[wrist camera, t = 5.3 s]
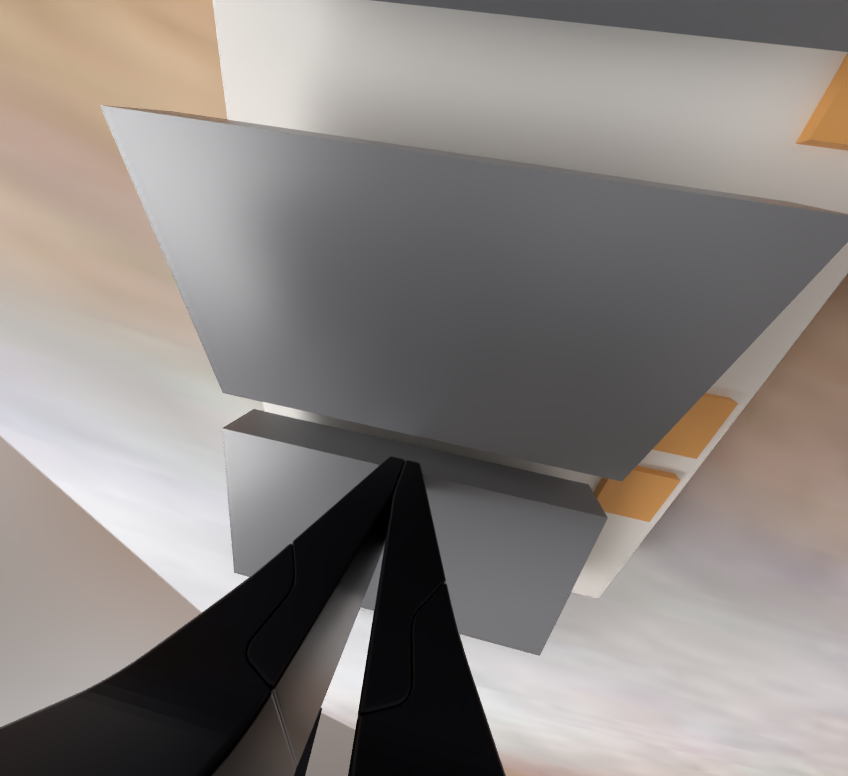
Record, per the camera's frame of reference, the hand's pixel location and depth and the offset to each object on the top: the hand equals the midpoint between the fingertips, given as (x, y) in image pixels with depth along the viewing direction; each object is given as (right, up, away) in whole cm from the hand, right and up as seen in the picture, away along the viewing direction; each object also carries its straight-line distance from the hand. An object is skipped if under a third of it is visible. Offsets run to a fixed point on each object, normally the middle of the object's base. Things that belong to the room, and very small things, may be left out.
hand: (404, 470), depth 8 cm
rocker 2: (0, -2, +3) cm, 3 cm away
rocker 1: (+1, +4, -1) cm, 4 cm away
